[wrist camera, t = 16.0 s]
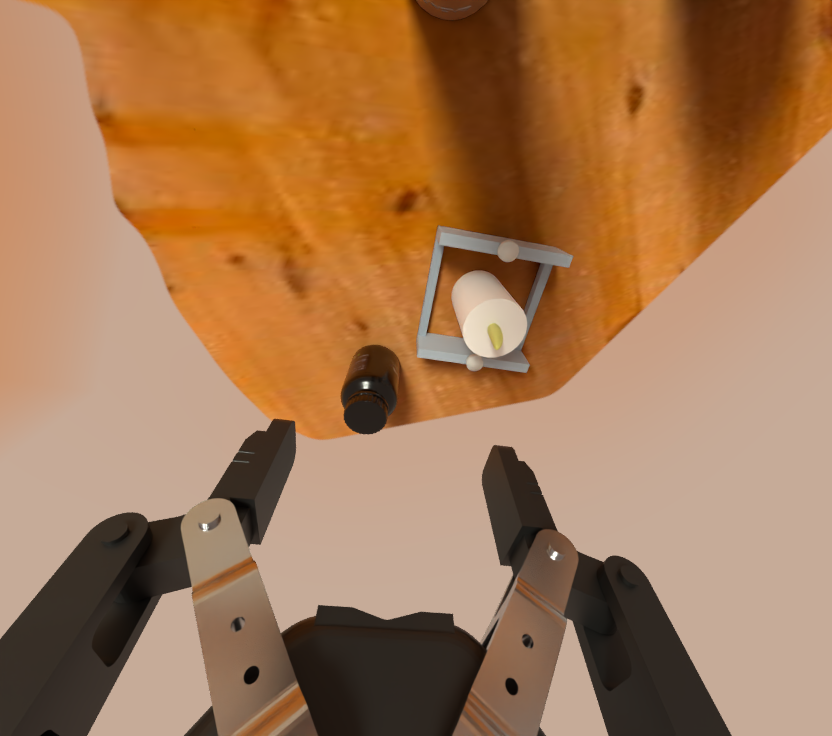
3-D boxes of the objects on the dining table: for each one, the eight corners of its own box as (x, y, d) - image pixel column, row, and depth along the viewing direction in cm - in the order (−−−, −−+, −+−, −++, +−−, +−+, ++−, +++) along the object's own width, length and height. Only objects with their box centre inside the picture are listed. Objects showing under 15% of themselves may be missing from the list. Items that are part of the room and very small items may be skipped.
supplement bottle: (410, 364, 46) (409, 418, 36) (378, 392, 48) (369, 451, 38) (373, 333, 43) (361, 382, 33) (341, 364, 46) (321, 419, 36)
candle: (496, 321, 43) (533, 384, 30) (447, 316, 42) (463, 378, 29) (508, 273, 40) (555, 320, 27) (455, 267, 39) (477, 312, 26)
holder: (438, 221, 37) (443, 228, 32) (556, 243, 38) (578, 253, 33) (415, 341, 44) (416, 363, 39) (514, 356, 46) (527, 378, 41)
